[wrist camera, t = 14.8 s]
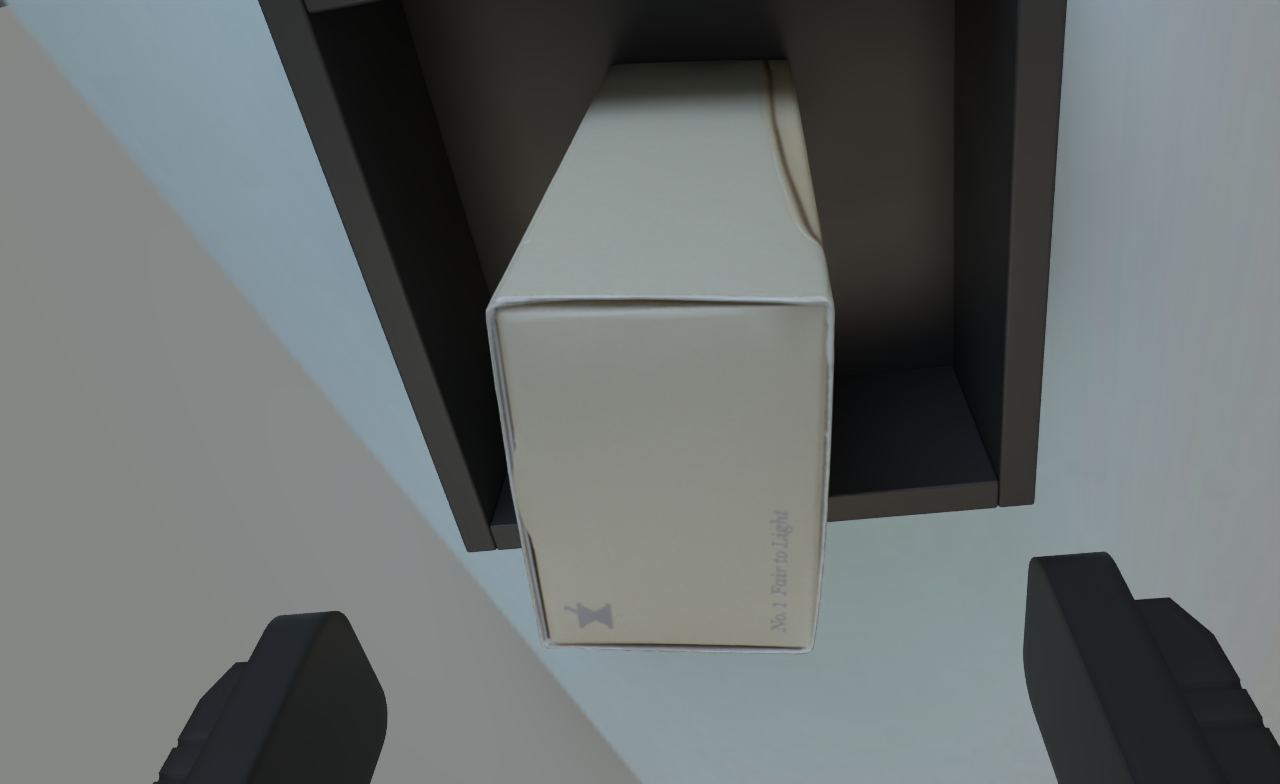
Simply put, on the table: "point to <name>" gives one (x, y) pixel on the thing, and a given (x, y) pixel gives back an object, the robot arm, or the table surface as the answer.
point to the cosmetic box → (673, 370)
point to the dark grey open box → (842, 182)
